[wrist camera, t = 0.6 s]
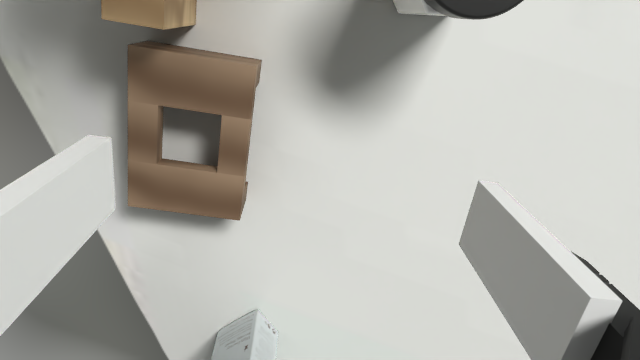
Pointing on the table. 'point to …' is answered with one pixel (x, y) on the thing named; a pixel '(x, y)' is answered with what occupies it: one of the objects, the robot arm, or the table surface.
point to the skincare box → (247, 339)
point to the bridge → (196, 95)
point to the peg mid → (151, 12)
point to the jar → (456, 7)
